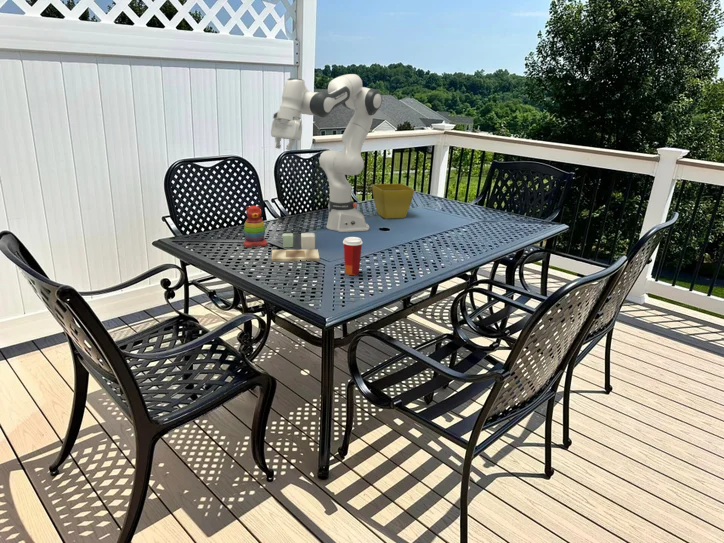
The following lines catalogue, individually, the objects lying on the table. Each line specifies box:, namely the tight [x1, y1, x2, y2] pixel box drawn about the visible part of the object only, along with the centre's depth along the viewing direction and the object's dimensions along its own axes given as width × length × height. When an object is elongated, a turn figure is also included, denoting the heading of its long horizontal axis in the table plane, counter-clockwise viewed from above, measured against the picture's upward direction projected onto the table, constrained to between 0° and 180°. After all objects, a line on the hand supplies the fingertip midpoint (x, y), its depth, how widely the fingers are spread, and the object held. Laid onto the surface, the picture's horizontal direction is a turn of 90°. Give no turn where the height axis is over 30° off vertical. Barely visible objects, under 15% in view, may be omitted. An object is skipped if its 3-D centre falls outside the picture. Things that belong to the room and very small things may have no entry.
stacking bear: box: [242, 205, 269, 248], centre depth 233 cm, size 11×10×18 cm
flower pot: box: [371, 183, 415, 220], centre depth 291 cm, size 19×19×17 cm
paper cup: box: [342, 236, 364, 276], centre depth 202 cm, size 8×8×14 cm
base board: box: [271, 248, 320, 262], centre depth 221 cm, size 20×12×1 cm, turn 98°
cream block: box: [300, 232, 316, 250], centre depth 233 cm, size 6×6×6 cm
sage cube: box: [282, 232, 294, 248], centre depth 234 cm, size 4×4×6 cm
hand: (283, 149), depth 221 cm, fingers open, 8 cm apart
